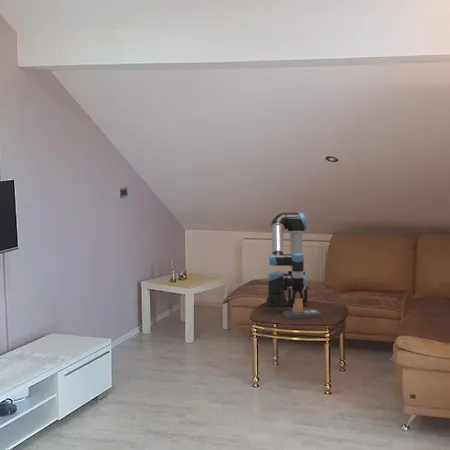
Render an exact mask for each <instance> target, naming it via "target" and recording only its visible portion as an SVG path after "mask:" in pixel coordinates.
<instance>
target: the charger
mask: <svg viewBox="0 0 450 450" xmlns="http://www.w3.org/2000/svg"><path fill="white" fill-rule="evenodd" d="M294 304H295V314H302V307H303V299H302V298H301V297H300V296H297V297H296V296H295V299H294Z"/></svg>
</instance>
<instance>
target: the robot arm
mask: <svg viewBox="0 0 450 450" xmlns="http://www.w3.org/2000/svg"><path fill="white" fill-rule="evenodd" d="M307 225H308V223H307V219H306V214H305V213H304V212H281V213H278V214H277V215H276V216H274V217H273V219H272V220H271V223H270V231H271V253H270V254H269V261H268V263H269V264H268V265H269V266H271V267H272V266H274V267H276V266H277V267H279V266H281V267H282V266H283V267H287V266H288V267H290V268H289V269H288V270H287V273H286V272H285V270H282V271H281V270H279V271H273V272H270V273H269V274H268V276H267V287H268V288H267V297H266V300H265V306H266V307H269V308H270V307H271V308H283V307H287V306H288V303H290V308H291V311H292V313H293V314H295V304H294V299H295V297H296V295H297V293H299V297H301V298H302V299H303V307H302V313H303V310H304V308H305V304H306V303H307V302H308V289H309V286H307V279H308V274H307V272H306V271H305V269H304V268H305V267H304V266H305V265H304V264H305V263H304V262H305V261H304V260H305V257H304V253H303V251H304V249H303V246H304V245H303V241H304V240H303V234H304V233H305V231H306V230H307V228H308V226H307ZM285 230H287V232H288V233H289V239H290V240H289V244H290V245H289V246H290V247H289V248H290V249H289V250H290V251H289V253H288V254H287V253H286V254H284V231H285ZM286 291H287V297H286Z"/></svg>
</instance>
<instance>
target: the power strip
mask: <svg viewBox="0 0 450 450" xmlns="http://www.w3.org/2000/svg"><path fill="white" fill-rule="evenodd" d="M282 316H283V317H284V318H287V319H288V320H295V319H299V320H300V319H310V318H313V319H315V318H322V312H320V311H319V310H317V309H303V313H302V314H293V313H292V310H283V311H282Z"/></svg>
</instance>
